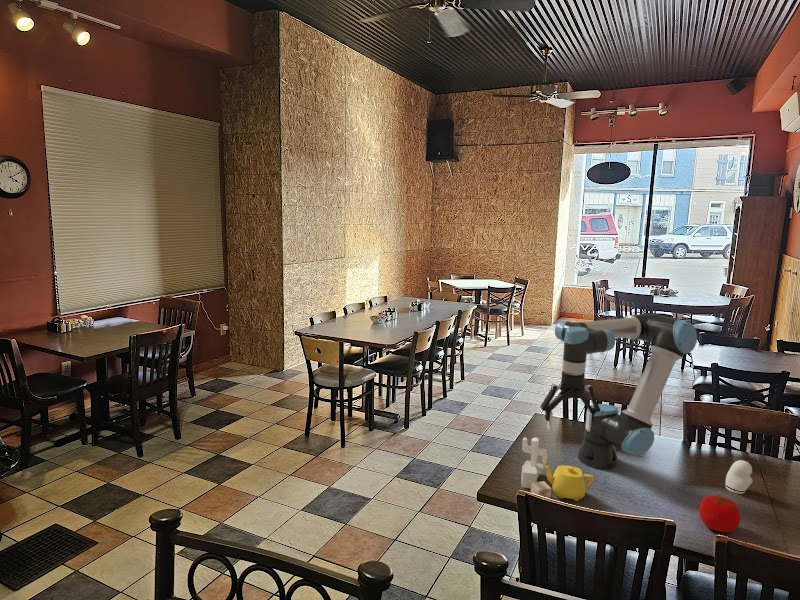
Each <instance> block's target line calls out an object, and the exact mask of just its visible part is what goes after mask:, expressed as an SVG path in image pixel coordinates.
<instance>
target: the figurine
mask: <svg viewBox="0 0 800 600" xmlns="http://www.w3.org/2000/svg"><path fill="white" fill-rule="evenodd" d="M539 445H540V439H539V437H535V436H534V437H533V438H531V445H529V444H528V438H527V437H523V439H522V445H521V446H522V447H521V448H522V449H521V450H522V451H523V452H524V453H528V454H530V460H526V461H525V462H524V463H523V465H522V466H529V467H536V470H537V480H538V478H539V477H540V476H541V474H542V472H543V470H544V469H545V467H544V466H543V465H546V464H547V462H548V451H547V449H546V448H545V449H544V448H540V447H539ZM540 456H541V458H542V459H541V460H542V463H539V462H538V457H540Z"/></svg>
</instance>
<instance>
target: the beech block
mask: <svg viewBox="0 0 800 600" xmlns="http://www.w3.org/2000/svg"><path fill="white" fill-rule="evenodd" d="M531 492H532V493H535V494H538V495H542V496H544V497H548V498H552V497H551V496H552V487H551V486H550V485H549V484H548V483H547V482H546V481H544V480H543V481H537V482H534V483H531V488H530V493H531Z"/></svg>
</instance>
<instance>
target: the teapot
mask: <svg viewBox="0 0 800 600" xmlns="http://www.w3.org/2000/svg"><path fill="white" fill-rule="evenodd" d="M543 466H544V469H545V470H546V478H547V481H548V483H549V484H551V490H552V492H553V494H555V496H557V499H560V500H562V499H563V500H564V499H569V500H573V501H575V502H579V501H580V500H581V499H583V498H584V497H585V496H586V489H587V488H588V487H590V485H591V484H592V483H594V480H595V476H594V475H593V474H590V473H589V474H587V473H583V470H582V469H581V468H579V467H576V466H572V465H558V466H557V467H556V469H555V471H554V472H553V475H552V473H551V468H550V467H549V466H548V465H546V464H544V465H543ZM585 478H588V481H587V482H586V480H585Z"/></svg>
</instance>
